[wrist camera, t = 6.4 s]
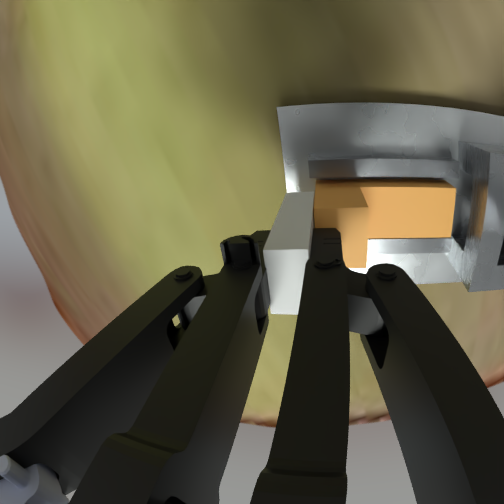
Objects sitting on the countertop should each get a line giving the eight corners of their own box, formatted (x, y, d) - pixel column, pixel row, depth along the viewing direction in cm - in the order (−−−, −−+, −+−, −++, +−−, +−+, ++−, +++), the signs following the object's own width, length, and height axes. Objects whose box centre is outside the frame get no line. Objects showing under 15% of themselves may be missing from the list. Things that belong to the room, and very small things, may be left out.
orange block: (315, 180, 17) (313, 208, 12) (444, 180, 14) (481, 208, 10) (318, 227, 18) (316, 268, 14) (441, 225, 16) (471, 264, 12)
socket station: (279, 107, 16) (263, 107, 12) (555, 130, 10) (597, 145, 6) (296, 277, 22) (288, 324, 17) (535, 268, 16) (563, 303, 11)
